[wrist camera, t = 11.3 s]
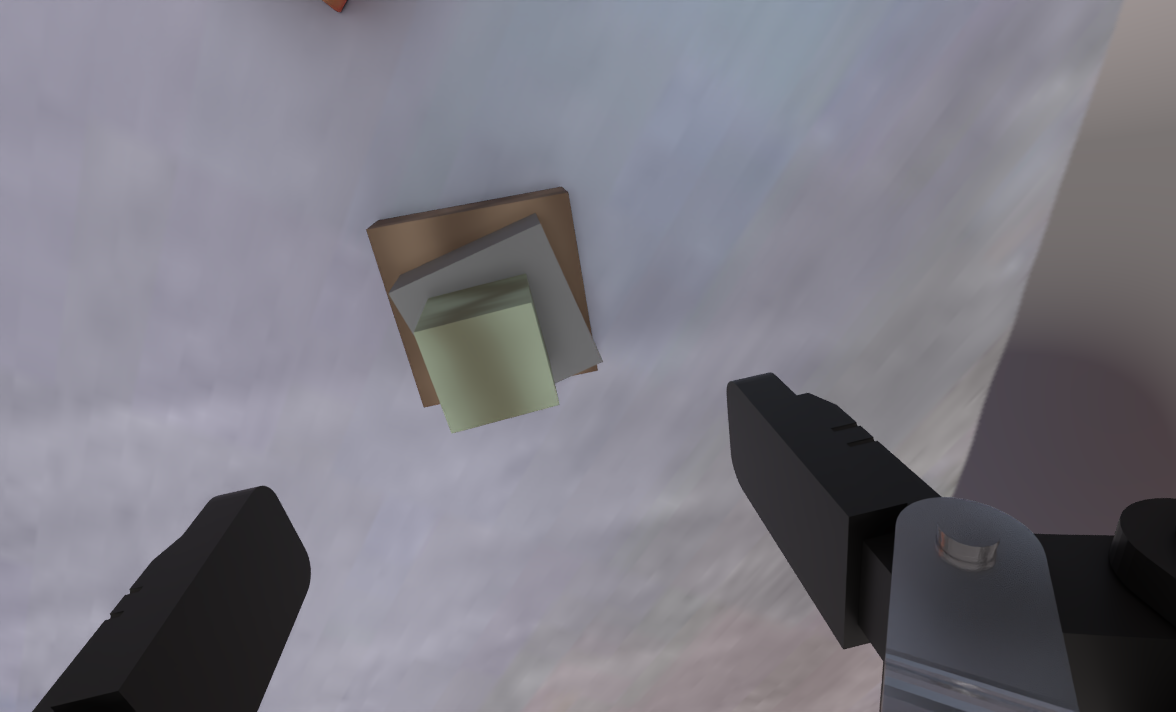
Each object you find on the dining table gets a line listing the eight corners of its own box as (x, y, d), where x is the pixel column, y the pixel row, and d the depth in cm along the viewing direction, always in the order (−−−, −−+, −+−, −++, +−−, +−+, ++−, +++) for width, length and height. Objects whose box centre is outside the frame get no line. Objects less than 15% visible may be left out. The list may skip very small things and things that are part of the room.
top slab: (535, 212, 32) (540, 223, 29) (592, 338, 36) (603, 361, 33) (400, 275, 33) (388, 293, 29) (470, 393, 36) (467, 423, 33)
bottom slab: (560, 185, 36) (568, 192, 32) (588, 348, 41) (597, 370, 37) (379, 219, 35) (366, 229, 31) (430, 381, 40) (423, 407, 36)
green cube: (525, 273, 30) (531, 302, 25) (550, 361, 32) (559, 404, 27) (428, 298, 29) (413, 332, 24) (459, 385, 32) (451, 433, 27)
